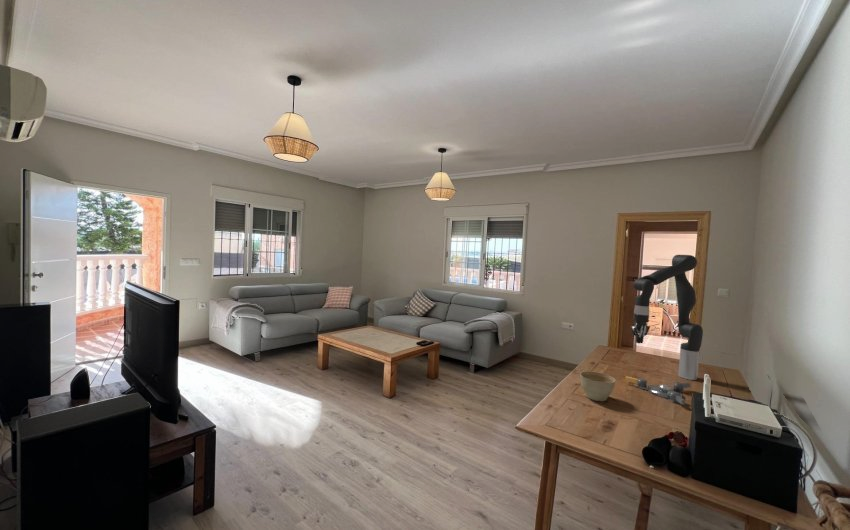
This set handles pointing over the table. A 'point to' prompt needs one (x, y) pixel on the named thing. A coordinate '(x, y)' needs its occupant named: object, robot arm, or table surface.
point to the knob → (676, 397)
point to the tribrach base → (661, 391)
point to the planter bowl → (597, 385)
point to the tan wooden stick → (637, 381)
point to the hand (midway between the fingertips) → (639, 342)
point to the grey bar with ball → (681, 386)
